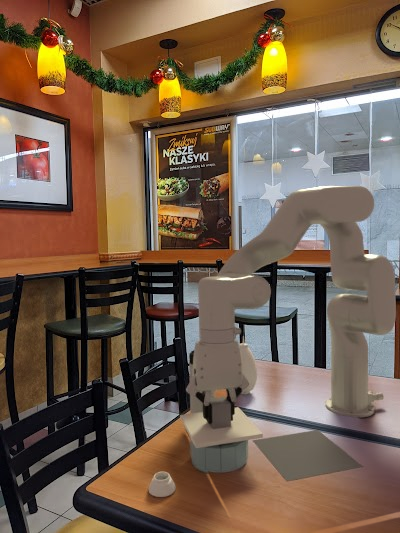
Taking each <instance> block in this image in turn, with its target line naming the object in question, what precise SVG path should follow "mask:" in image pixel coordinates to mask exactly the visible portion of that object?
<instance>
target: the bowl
mask: <svg viewBox="0 0 400 533" xmlns="http://www.w3.org/2000/svg"><path fill="white" fill-rule="evenodd" d="M189 439H190V443H189V444H190V447H189V448H190V457H191V463H192V465H193V466H194V468H196V469H197V470H198V471H200V472H202V473H204V474H207V475H209V474H210V473H228V472H233V471H236V470H239V469H241V468H242V467H244V466H245V465H246V464H247V462H248V457H249V440H245V441H238V442H232V443H226V444H219V445H213V446H207V447H201V448H195V446H194V444H193V442H192V440H191V438H190V437H189ZM209 472H210V473H209Z"/></svg>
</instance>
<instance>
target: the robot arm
mask: <svg viewBox="0 0 400 533" xmlns="http://www.w3.org/2000/svg"><path fill="white" fill-rule="evenodd" d="M374 208H375V198H374V195H373V193H372V192H371V191H370V190H369V189H368V188H367V187H365V186H362V185H345V186H344V185H341V186H339V185H338V186H337V185H336V186H335V185H327V186H324V185H323V186H318V187H316V186H315V187H311V188H305V189H298V190H295V191H293V192H291V193H290V194H289V195H288V196H286V198H285V199H284V201H283V202H282V203H281V205H279V208H277V210H276V211H275V213H274V215H273V216H272V218H271V219H270V220H269V221H268V223H267V225H266V226H265V227H264V229H263V230H262V231H261V232H260V233H259V234H258V235H256V236H255V237H253V238H252V239H251V240H250V241H248V242H247V243H245V244H244V245H243V246H241V247H240V248H238V249H237V250H236V251H235V252H234V253H232V255H230V257H229V258H228V259H227V260H226V262H225V263H224V265H223V266H222V267H221V268H220V270H219V271H218V273H217V274H216V276H206V277H203V278H200V279H199V282H198V284H197V285H198V286H197V288H198V289H197V290H198V324H199V325H198V333H199V334H198V335H199V340H196V341H195V344H194V358H193V378H192V379H191V381H190V380H189V383H188V385H187V387H186V388H185V390H186V393H187V394H189V396H190V395H192V396H195V397H197V398H198V399H199V400H200V401H201V402H202V403H203V417H204V419H206V420H207V422H208V423H209V424H212V406H211V404H210V396H211V391H214V390H215V391H220V390H221V391H222V390H225V392H226V397H225V398H226V399H227V400H228V401H229V402H230V403H231V421H233V415H234V414H235V408H236V407H235V403H236V401H237V398H238V397H239V396H240V395H241V392H242V391H243V390H244V389H246V388H247V387H248V386H249V385H250V384H249V382H248V380H247V379H246V377H245V376H244V375H243V372H242V361H241V354H240V349H239V344H240V343H239V341H238V340H237V336H238V335H241V334H242V329H241V327H236V326H235V325H236V321H235V320H236V319H235V317H236V315H235V314H236V313H235V311H236V310H256V309H259V308H262V307H264V306H265V305H266V304H267V303H268V302H269V301H270V299H271V295H272V288H271V285H270V283H269V282H268V281H267V280H266V279H265V278H264V277H262V276H260V275H257V274H254V273H255V272H256V271H258V270H259V269H261V268H262V267H265V266H267V265H270V264H273V263H276V262H278V261H281V260H282V259H285V258H287V257H289V256H290V255H292V254H293V252H295V250H296V248H297V247H298V245H299V244H300V242H301V240H302V239H303V237H304V236H305V235H306V233H307V231H308V230H309V229H310V227H311V226H313V225H320V226H321V227H322V228H323V229H324V231H325V232H326V235H327V238H328V240H329V253H330V255H329V256H330V274H331V280H332V283H333V285H334V286H335V287H337V288H339V289H343V290H349V291H357V292H358V291H359V292H366V295H361V294H353V293H340V294H337V295H334V296H333V297H332V298H331V299H330V300H329V301H328V303H327V307H326V315H327V320H328V326H329V332H330V350H331V352H330V354H331V355H330V356H331V357H330V358H331V359H330V360H331V361H330V364H331V366H330V369H331V370H330V372H331V373H330V381H331V382H330V383H331V388H330V389H331V391H330V392H331V393H330V394H331V396H330V398H328V399H326V401H325V407H326V409H327V410H329V411H330V412H332V413H334V414H337V415H341V416H344V417H345V416H346V417H351V418H352V417H353V418H354V417H356V418H358V419H362V418H367V417H370V416H372V415H373V414H374V413H375V406H374V405H373V403H374V402H375V401H381V400H384V394H383V393H382V392H375V393H374V392H373V391H372V390H369V344H368V341H367V338H366V336H365V334H369V335H376V336H384V335H387V334H389V333H390V332H392V331H393V329H394V326H395V322H396V318H397V308H396V307H397V306H396V304H397V303H396V302H397V301H396V298H397V297H396V276H395V269H394V266H393V264H392V262H391V261H390V259H388V258H387V257H386V256H383V255H381V254H366V253H365V247H364V237H363V236H364V235H363V232H362V230H361V228H360V225H358V223H360V222H364V221H366V220H367V219H369V217H370V216H371V215H372V213H373V211H374ZM196 386H197V387H198V390H200V391H202V392H200V391H198V390H196V389H195V387H196Z"/></svg>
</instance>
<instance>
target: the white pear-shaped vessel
mask: <svg viewBox="0 0 400 533" xmlns="http://www.w3.org/2000/svg"><path fill="white" fill-rule="evenodd" d="M238 344H239V349H240V354H241V361H242V372H243V375H244V376H245V377H246V379H247V380H248V382H249V384H250V385H249V386H248V387H247V388H246V389H244V390H243V391H242V392H241V394H242V395H248V394H249V393H251V391H253V390H254V388H255V386H256V384H257V380H258V367H257V363H256V359H255V356H254V354H253V352H252V350H251V349H250V348H249V347H248V346H249V344H248V343H245V336H244V335H243V336H242V343H238ZM241 394H240V395H241Z"/></svg>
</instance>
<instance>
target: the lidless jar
mask: <svg viewBox="0 0 400 533" xmlns="http://www.w3.org/2000/svg"><path fill="white" fill-rule="evenodd" d="M175 491H176V483H175V482H174V480H173V478H172V477H171V475H170V473H169V472H166V471H158V472H156V473H154V475H153V477H152V479H151V480H150V483H149V486H148V492H149V494H150V495H152V496H153V497H157V498H164V497H168V496H171V495H172V494H174V492H175Z"/></svg>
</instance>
